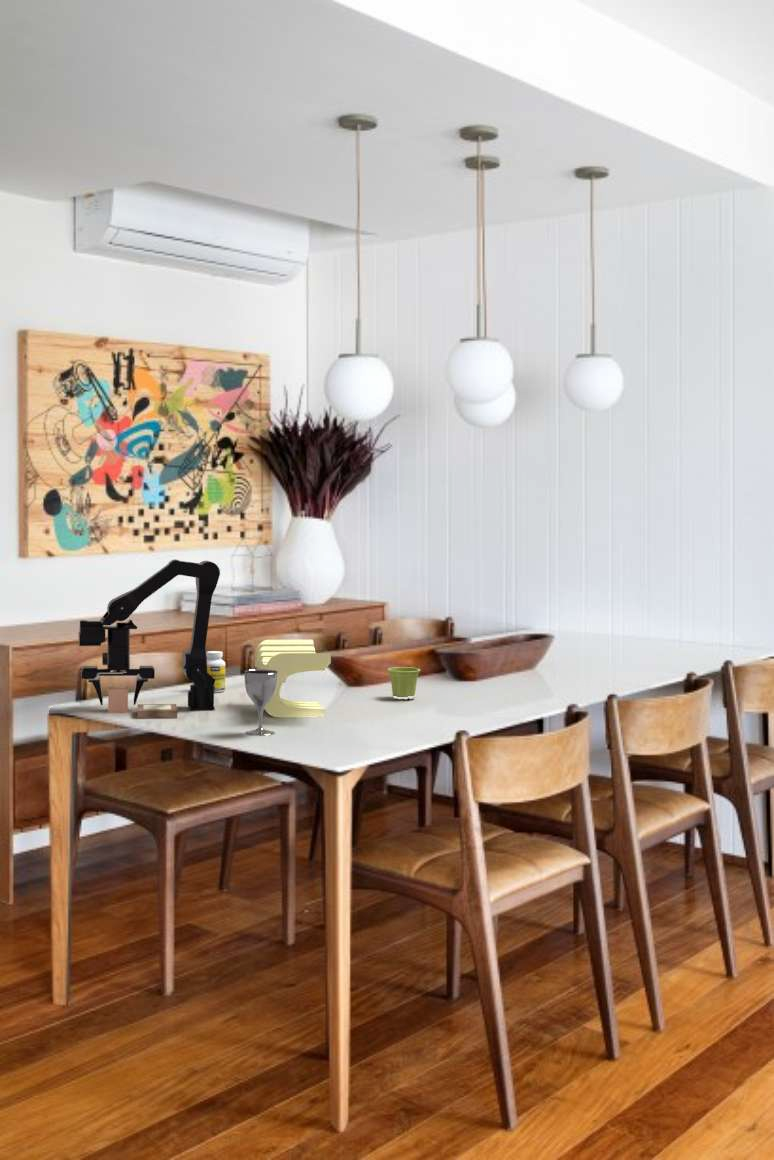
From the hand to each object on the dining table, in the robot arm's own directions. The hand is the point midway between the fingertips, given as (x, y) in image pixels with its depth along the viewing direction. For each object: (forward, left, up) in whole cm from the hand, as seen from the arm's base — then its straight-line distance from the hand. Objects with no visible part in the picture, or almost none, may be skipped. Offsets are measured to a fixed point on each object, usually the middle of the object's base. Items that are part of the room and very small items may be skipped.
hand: (118, 704), depth 341 cm
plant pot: (-80, -15, -2) cm, 81 cm away
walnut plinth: (-10, +8, -2) cm, 13 cm away
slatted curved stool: (-45, +6, -2) cm, 45 cm away
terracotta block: (0, 0, -2) cm, 2 cm away
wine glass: (-34, +35, -2) cm, 49 cm away
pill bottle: (-27, -32, -2) cm, 42 cm away
